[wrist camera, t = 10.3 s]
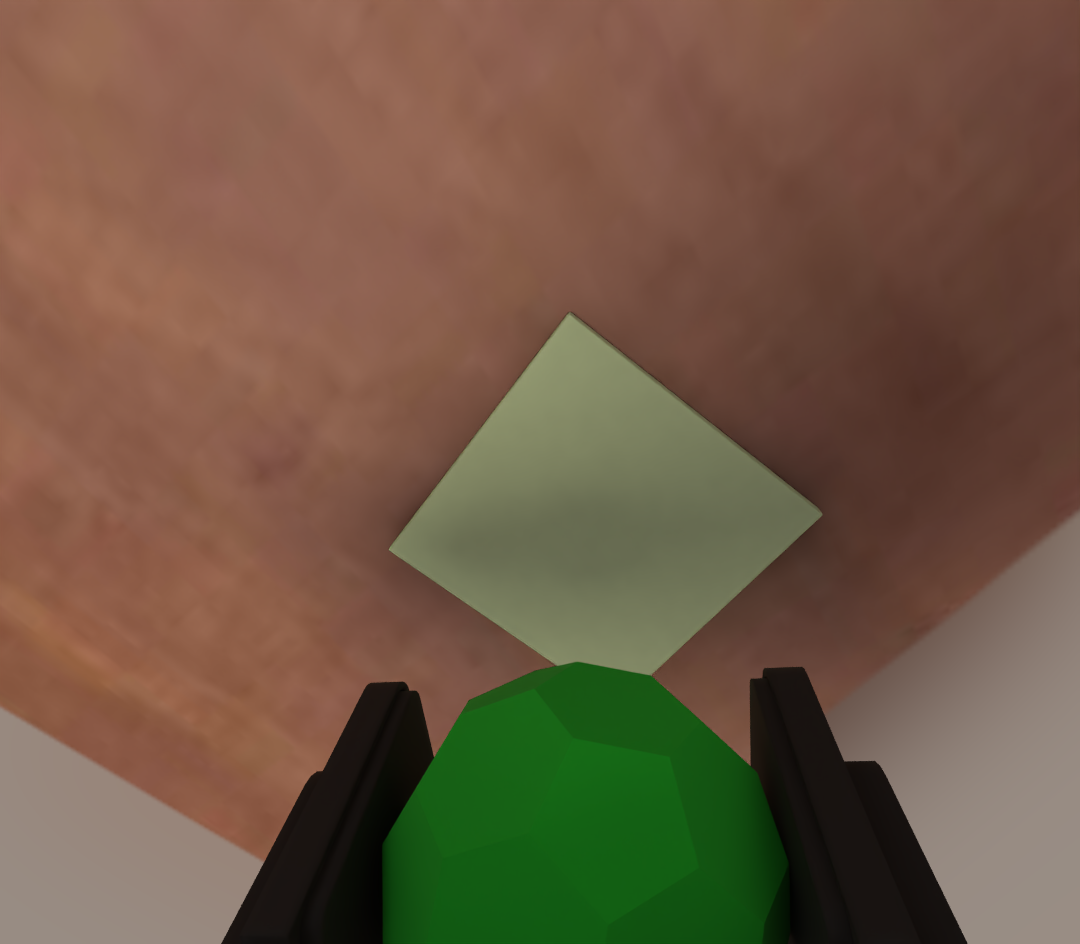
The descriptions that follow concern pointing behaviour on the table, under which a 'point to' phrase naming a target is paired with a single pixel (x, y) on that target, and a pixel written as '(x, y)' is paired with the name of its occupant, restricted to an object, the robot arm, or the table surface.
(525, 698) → the polyhedron
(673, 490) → the mat
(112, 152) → the table surface
